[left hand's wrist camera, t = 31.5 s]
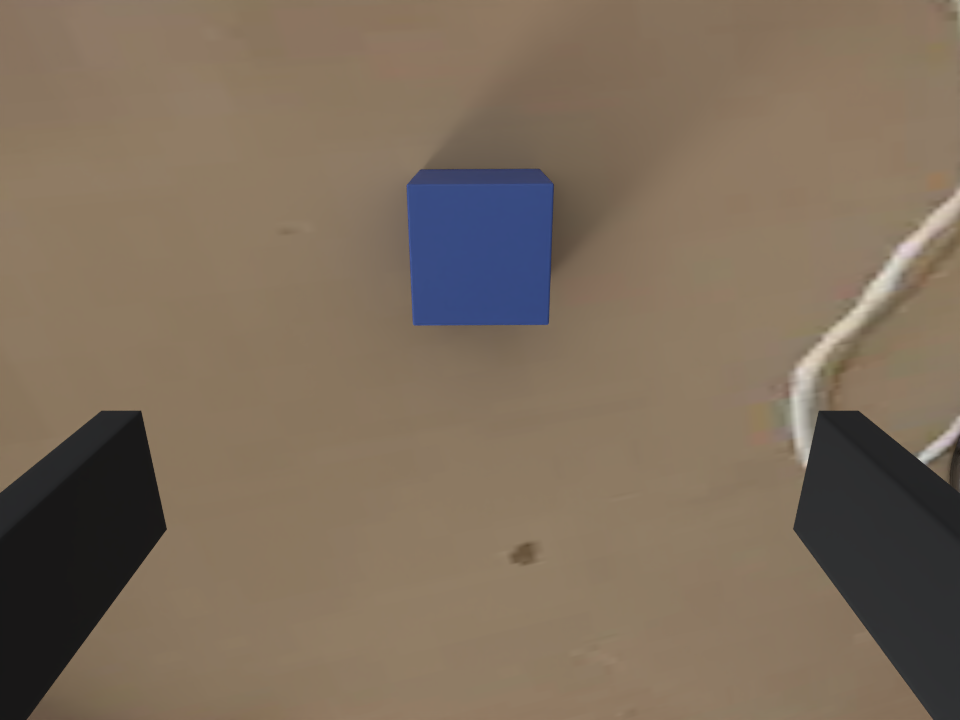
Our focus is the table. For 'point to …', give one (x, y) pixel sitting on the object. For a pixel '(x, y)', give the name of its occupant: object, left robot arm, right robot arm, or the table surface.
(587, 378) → the table surface
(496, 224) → the block
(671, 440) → the table surface
